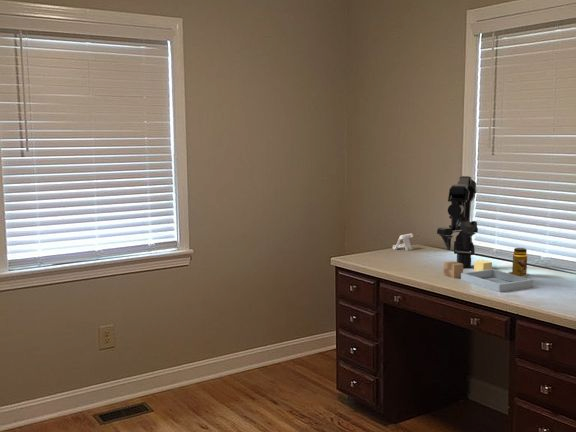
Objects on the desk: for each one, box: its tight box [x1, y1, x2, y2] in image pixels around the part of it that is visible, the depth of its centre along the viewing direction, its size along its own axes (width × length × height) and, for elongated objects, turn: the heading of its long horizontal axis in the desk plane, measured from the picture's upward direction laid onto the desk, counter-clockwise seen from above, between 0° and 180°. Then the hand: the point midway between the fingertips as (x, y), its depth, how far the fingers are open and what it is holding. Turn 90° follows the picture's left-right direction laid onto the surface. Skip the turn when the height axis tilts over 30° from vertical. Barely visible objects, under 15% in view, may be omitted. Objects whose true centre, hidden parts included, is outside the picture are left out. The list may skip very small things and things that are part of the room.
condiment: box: [507, 247, 529, 278], centre depth 291 cm, size 7×8×12 cm
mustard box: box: [473, 259, 493, 272], centre depth 297 cm, size 6×5×5 cm
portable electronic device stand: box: [392, 233, 414, 252], centre depth 353 cm, size 9×8×8 cm
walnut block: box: [443, 260, 464, 279], centre depth 290 cm, size 7×5×6 cm
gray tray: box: [460, 268, 534, 293], centre depth 276 cm, size 23×18×3 cm
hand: (457, 249), depth 288 cm, fingers open, 9 cm apart
